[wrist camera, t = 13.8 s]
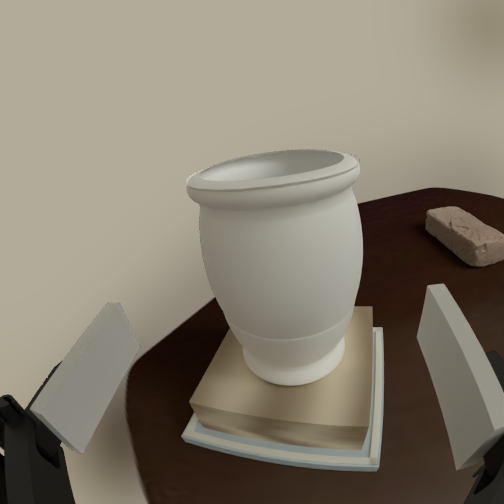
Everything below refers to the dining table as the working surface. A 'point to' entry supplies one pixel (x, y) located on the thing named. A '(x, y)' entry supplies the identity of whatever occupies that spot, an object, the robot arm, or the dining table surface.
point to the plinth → (292, 396)
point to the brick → (466, 236)
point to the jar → (283, 256)
